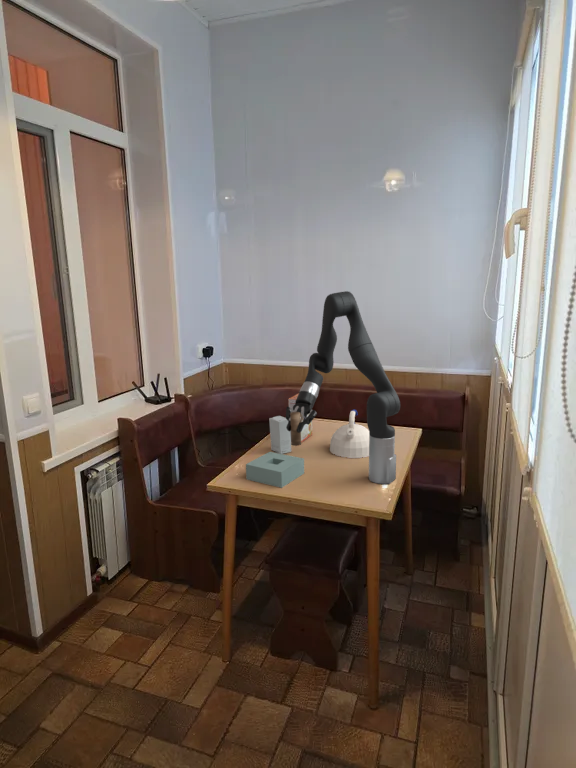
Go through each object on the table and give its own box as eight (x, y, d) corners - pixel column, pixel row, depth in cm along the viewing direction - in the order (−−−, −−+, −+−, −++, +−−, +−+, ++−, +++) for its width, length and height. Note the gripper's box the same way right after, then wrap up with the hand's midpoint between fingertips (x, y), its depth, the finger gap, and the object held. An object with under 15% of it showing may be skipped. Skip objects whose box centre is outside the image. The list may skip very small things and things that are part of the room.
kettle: (325, 457, 217) (325, 415, 213) (333, 441, 236) (333, 403, 232) (374, 460, 212) (375, 418, 208) (377, 444, 231) (378, 405, 228)
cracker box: (301, 433, 249) (300, 391, 244) (312, 435, 246) (312, 392, 242) (288, 442, 236) (287, 397, 232) (300, 443, 234) (299, 399, 229)
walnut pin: (303, 443, 208) (302, 412, 206) (297, 446, 205) (296, 414, 202) (294, 442, 210) (293, 411, 208) (289, 444, 207) (288, 413, 204)
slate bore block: (304, 473, 199) (304, 458, 198) (281, 487, 186) (281, 472, 185) (270, 465, 208) (269, 451, 207) (246, 479, 195) (245, 464, 193)
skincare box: (291, 452, 223) (291, 419, 220) (279, 455, 220) (279, 421, 217) (281, 446, 230) (280, 414, 227) (269, 449, 227) (268, 417, 224)
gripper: (289, 388, 213) (274, 424, 206) (319, 391, 206) (305, 428, 198) (296, 398, 219) (282, 433, 211) (326, 401, 211) (312, 438, 204)
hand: (293, 430), depth 205 cm, fingers closed on walnut pin, 4 cm apart
